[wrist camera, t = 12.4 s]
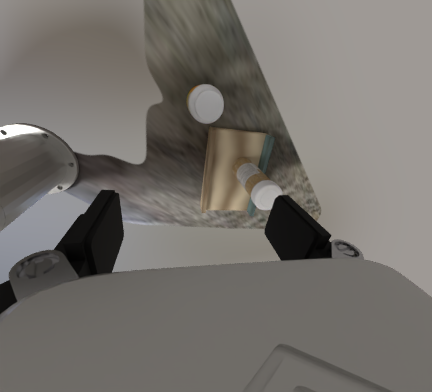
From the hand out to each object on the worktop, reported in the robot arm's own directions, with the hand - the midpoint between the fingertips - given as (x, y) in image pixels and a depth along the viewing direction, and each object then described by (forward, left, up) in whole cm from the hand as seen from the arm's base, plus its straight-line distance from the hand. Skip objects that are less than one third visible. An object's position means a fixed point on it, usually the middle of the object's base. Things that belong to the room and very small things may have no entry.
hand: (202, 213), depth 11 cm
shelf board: (+11, -8, -28) cm, 31 cm away
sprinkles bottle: (+13, -6, -26) cm, 30 cm away
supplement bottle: (+3, +5, -28) cm, 29 cm away
